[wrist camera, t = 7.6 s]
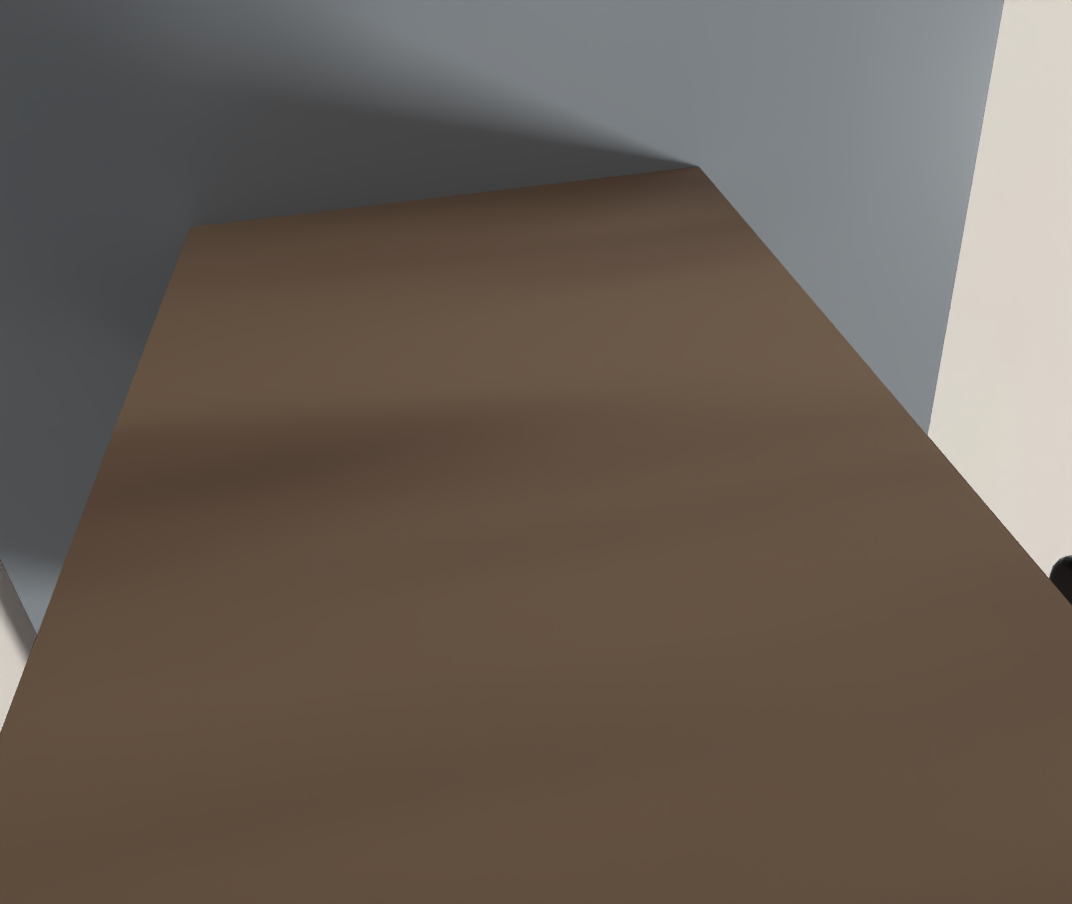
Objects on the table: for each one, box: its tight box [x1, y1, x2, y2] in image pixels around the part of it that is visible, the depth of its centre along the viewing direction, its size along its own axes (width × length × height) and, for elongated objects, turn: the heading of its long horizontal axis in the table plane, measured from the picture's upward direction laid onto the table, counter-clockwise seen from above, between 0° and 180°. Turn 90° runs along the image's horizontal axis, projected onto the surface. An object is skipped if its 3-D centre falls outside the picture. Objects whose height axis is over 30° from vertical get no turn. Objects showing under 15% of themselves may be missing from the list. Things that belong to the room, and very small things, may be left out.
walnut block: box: [0, 167, 1072, 904], centre depth 8 cm, size 5×5×8 cm
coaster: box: [0, 0, 1004, 634], centre depth 12 cm, size 11×11×1 cm
